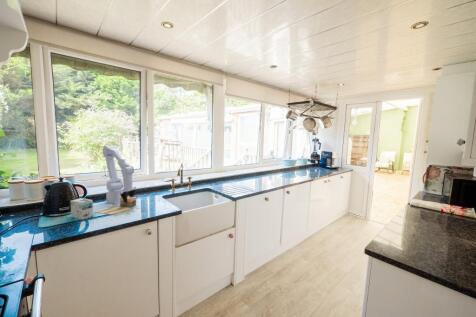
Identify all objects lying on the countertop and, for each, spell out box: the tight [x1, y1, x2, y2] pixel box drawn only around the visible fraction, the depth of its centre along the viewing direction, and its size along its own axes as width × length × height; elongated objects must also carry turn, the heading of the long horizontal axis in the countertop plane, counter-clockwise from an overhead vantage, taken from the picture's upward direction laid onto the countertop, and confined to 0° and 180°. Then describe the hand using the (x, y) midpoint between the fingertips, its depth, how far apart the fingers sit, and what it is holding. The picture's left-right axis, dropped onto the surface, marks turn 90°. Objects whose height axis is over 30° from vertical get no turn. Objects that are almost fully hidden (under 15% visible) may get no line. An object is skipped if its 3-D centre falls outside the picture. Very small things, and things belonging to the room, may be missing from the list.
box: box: [119, 199, 137, 208], centre depth 148 cm, size 9×5×4 cm, turn 78°
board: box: [94, 205, 135, 216], centre depth 137 cm, size 18×14×1 cm
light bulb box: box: [70, 197, 94, 220], centre depth 126 cm, size 11×7×11 cm, turn 71°
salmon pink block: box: [120, 195, 137, 202], centre depth 147 cm, size 9×5×3 cm, turn 78°
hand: (128, 200), depth 148 cm, fingers closed on salmon pink block, 5 cm apart
